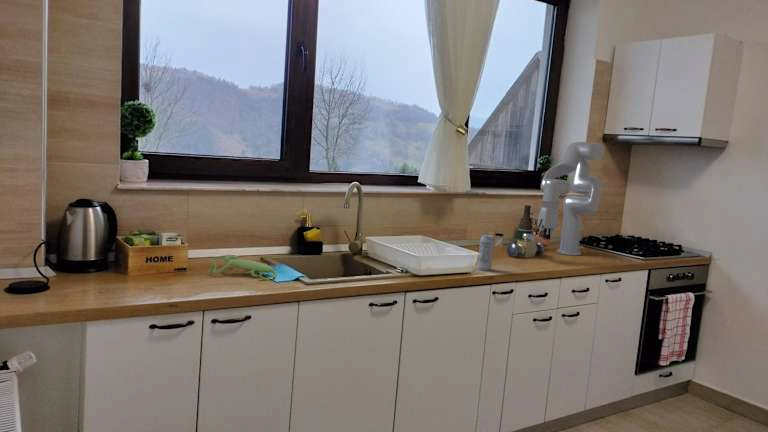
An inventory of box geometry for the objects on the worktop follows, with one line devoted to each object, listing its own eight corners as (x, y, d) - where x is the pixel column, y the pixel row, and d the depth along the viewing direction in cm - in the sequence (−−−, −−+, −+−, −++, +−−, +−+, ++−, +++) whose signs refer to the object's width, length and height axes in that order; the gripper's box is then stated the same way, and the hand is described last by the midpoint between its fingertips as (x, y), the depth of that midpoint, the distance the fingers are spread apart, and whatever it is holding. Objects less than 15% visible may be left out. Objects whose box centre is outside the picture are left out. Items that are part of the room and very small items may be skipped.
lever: (527, 237, 304) (528, 233, 304) (550, 244, 288) (551, 239, 288) (520, 238, 302) (521, 233, 302) (543, 244, 286) (544, 239, 286)
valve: (533, 253, 311) (534, 237, 310) (543, 256, 305) (545, 239, 304) (506, 255, 299) (507, 238, 298) (516, 258, 294) (518, 241, 292)
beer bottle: (531, 251, 319) (536, 206, 316) (517, 249, 319) (522, 205, 316) (528, 248, 327) (533, 205, 324) (514, 247, 327) (519, 204, 324)
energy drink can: (493, 270, 262) (497, 236, 261) (485, 271, 258) (488, 237, 257) (483, 267, 267) (486, 234, 265) (474, 268, 263) (477, 235, 261)
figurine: (218, 265, 234) (218, 251, 234) (284, 271, 233) (285, 257, 232) (200, 276, 216) (201, 261, 215) (272, 282, 214) (273, 267, 214)
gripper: (553, 204, 298) (549, 240, 300) (533, 204, 289) (530, 241, 292) (566, 206, 292) (562, 242, 294) (546, 206, 283) (542, 244, 286)
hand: (546, 242), depth 293 cm, fingers closed
